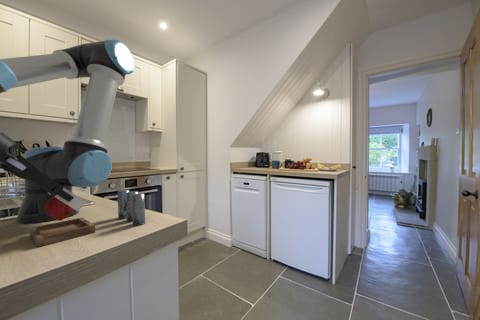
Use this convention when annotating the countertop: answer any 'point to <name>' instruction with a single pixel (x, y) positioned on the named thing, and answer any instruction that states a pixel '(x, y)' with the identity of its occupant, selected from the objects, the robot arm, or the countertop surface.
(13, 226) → the countertop surface
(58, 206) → the onion
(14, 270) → the countertop surface
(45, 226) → the tray
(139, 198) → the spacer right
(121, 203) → the spacer left
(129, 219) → the spacer mid
